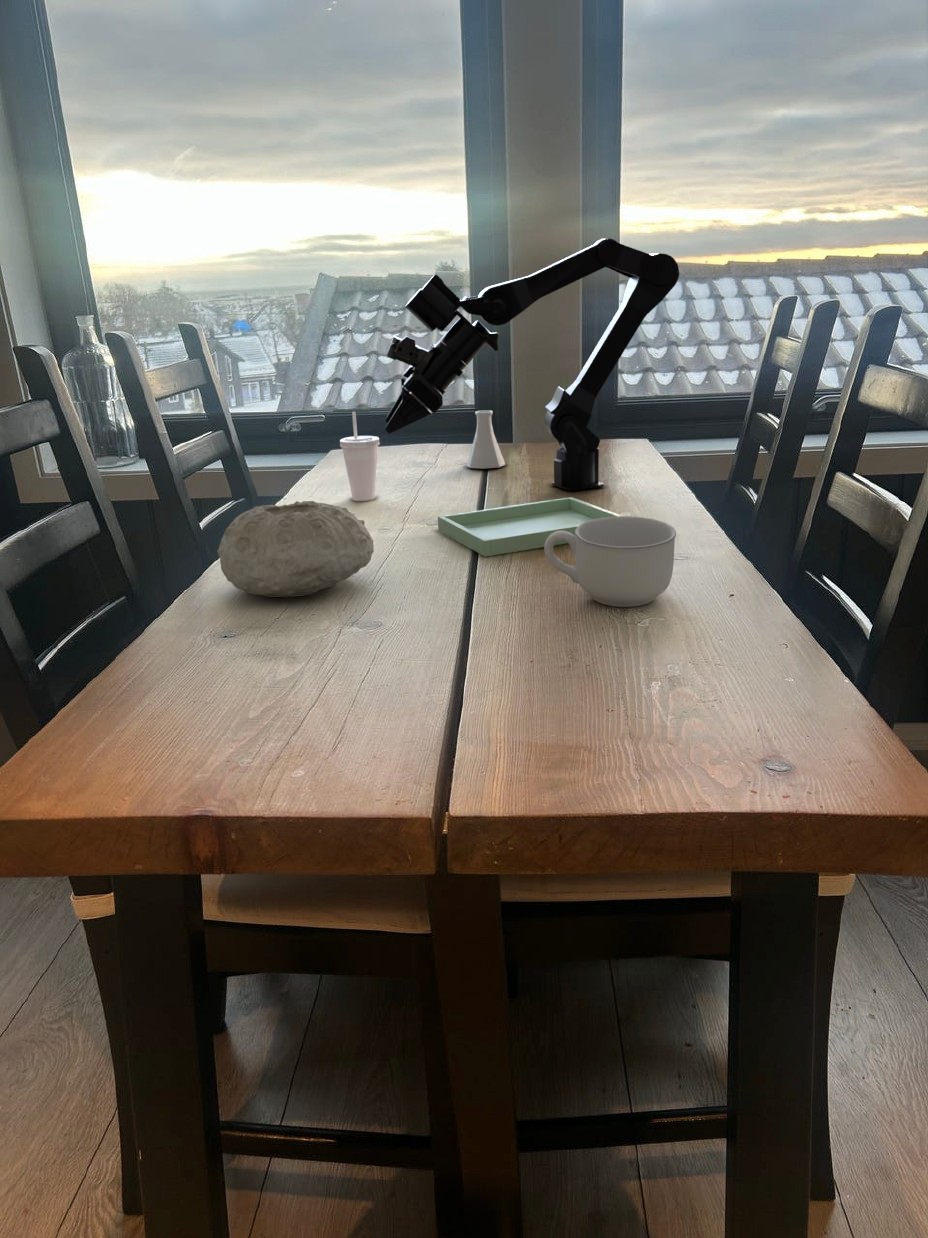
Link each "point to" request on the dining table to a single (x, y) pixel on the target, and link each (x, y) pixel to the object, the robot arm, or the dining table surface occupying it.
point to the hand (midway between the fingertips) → (387, 427)
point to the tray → (518, 525)
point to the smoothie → (361, 463)
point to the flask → (485, 444)
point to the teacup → (619, 558)
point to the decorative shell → (293, 548)
